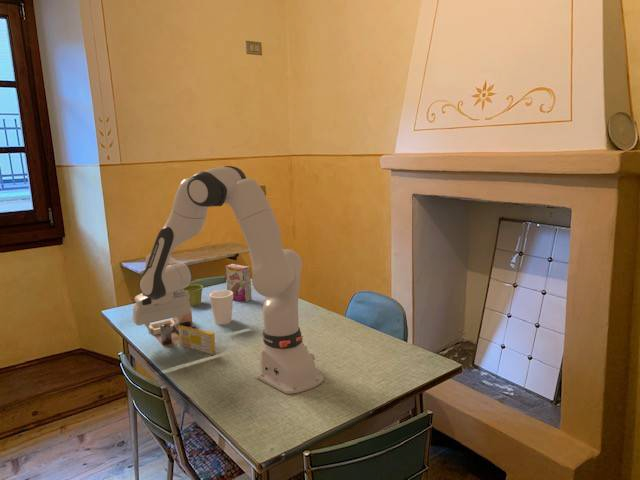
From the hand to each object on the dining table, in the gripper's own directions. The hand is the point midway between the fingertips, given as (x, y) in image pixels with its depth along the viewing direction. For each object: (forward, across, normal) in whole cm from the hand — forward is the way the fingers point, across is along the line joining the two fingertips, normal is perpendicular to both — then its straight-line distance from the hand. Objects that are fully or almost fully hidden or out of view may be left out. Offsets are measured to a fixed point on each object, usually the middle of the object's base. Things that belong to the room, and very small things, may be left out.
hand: (164, 330), depth 174 cm
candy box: (+6, -8, +12) cm, 15 cm away
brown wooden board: (+6, -6, -7) cm, 11 cm away
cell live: (+5, 0, 0) cm, 5 cm away
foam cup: (+6, -25, -6) cm, 27 cm away
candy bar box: (+6, -44, -29) cm, 52 cm away
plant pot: (+6, -24, -35) cm, 42 cm away
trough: (+6, -3, -14) cm, 15 cm away
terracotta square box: (+6, -11, -14) cm, 19 cm away
